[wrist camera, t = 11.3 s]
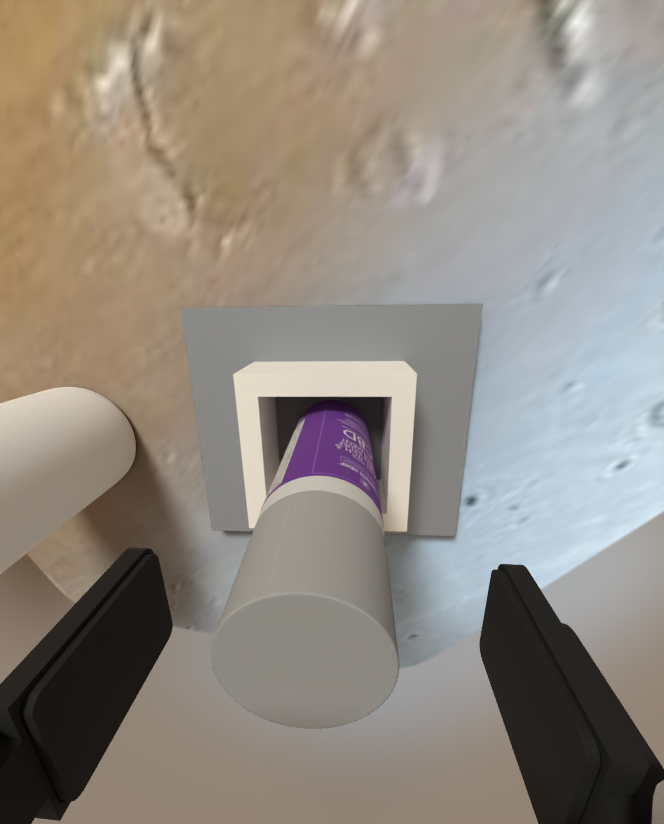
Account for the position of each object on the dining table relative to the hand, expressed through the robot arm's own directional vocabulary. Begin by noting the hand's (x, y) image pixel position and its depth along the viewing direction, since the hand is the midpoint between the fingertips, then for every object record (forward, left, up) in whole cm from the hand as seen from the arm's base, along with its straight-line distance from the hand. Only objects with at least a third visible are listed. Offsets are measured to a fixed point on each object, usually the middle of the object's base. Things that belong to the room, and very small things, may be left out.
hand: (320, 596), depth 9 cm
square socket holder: (+1, 0, -15) cm, 15 cm away
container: (0, 0, -13) cm, 13 cm away
